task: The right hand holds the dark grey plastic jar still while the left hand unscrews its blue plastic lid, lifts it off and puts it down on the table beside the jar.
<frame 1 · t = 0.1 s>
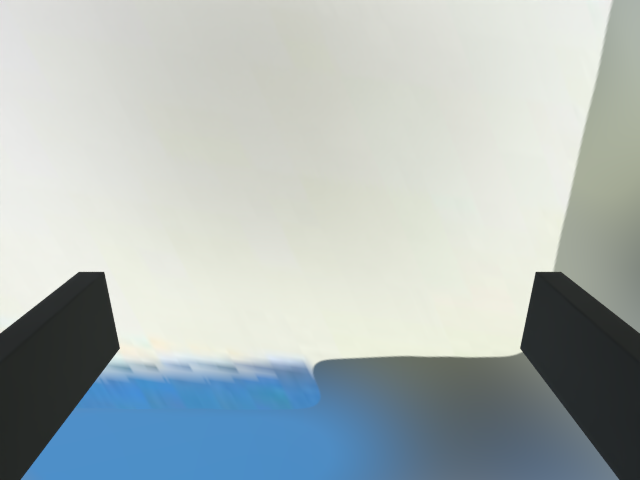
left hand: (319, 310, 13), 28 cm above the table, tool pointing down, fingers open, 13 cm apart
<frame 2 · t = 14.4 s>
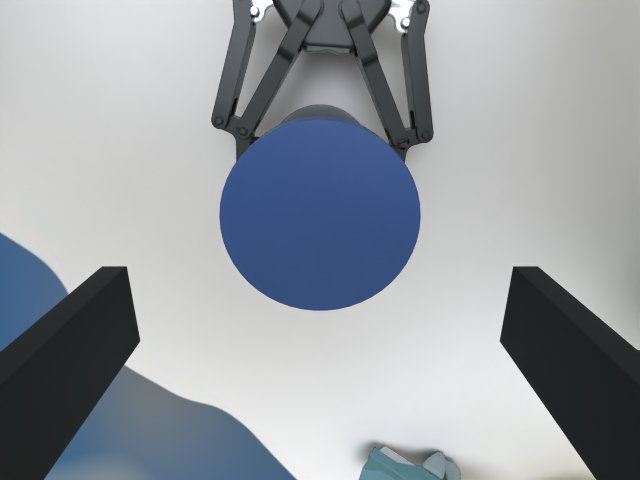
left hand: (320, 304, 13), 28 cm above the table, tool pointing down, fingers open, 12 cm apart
right hand: (316, 220, 35), fingers closed on jar, 10 cm apart
jar: (320, 157, 40), on the table, touching right hand
toy gun: (423, 456, 53), on the table
lid: (320, 221, 21), point 20 cm above the table, screwed on, not yet turned
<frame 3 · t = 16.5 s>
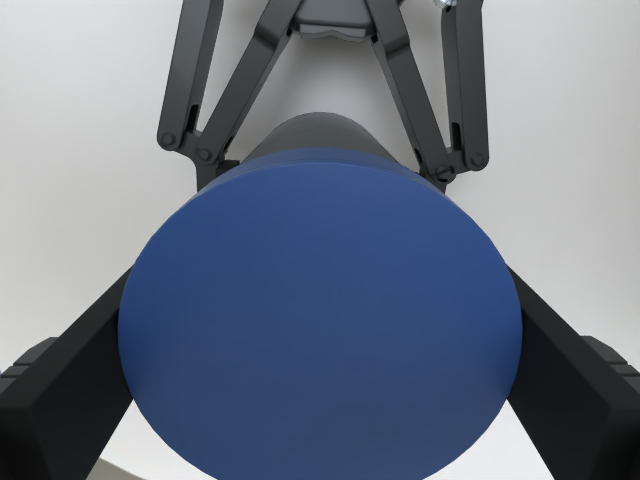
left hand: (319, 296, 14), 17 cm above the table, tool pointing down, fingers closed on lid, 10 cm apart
jar: (319, 182, 29), on the table, touching right hand
lid: (320, 353, 11), point 20 cm above the table, screwed on, not yet turned, touching left hand
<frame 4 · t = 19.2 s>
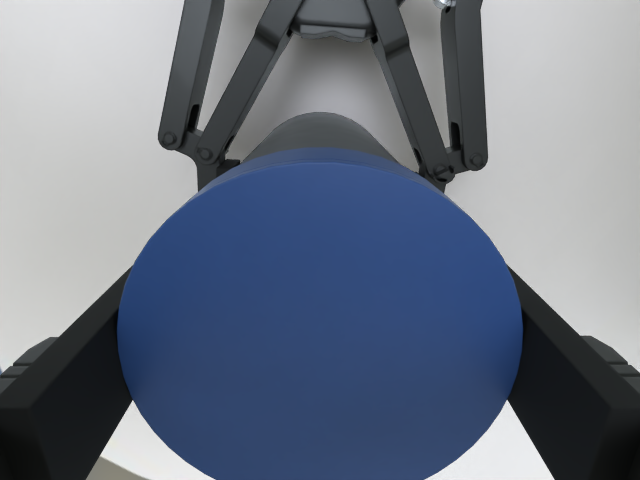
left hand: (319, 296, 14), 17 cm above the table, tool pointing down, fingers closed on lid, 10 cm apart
jar: (319, 182, 29), on the table, touching right hand
lid: (319, 354, 11), point 20 cm above the table, turned 68° so far, risen 0.2 cm, still on its thread, touching left hand
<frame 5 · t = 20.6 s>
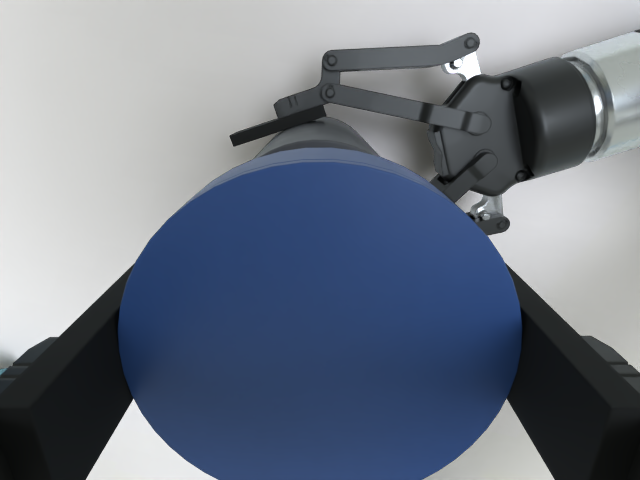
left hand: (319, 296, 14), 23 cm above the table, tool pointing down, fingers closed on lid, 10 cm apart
right hand: (261, 207, 30), fingers closed on jar, 10 cm apart
jar: (317, 173, 36), on the table, touching right hand
lid: (320, 353, 11), point 27 cm above the table, off its thread, touching left hand
when the left hand's fingers open (0 cm above the table, at t = 25.6 s): lid drops 2 cm, point 2 cm above the table.
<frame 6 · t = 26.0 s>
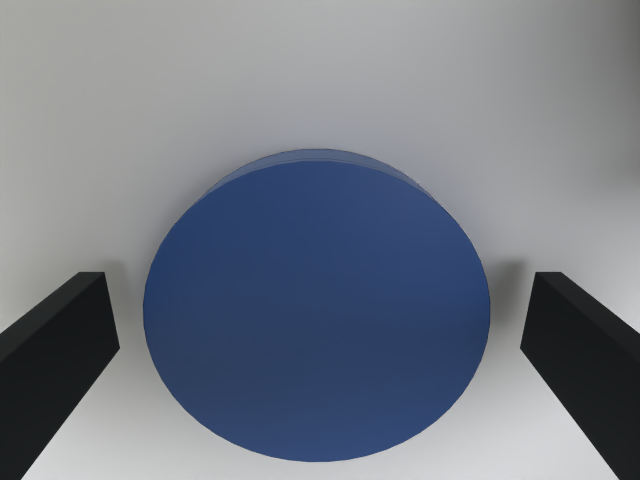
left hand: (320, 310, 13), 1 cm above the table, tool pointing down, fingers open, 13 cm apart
lid: (316, 327, 12), point 2 cm above the table, off its thread
when the right hand's fingers open (6 cm above the table, at t = 26.7 s): jar stays where it is, on the table.
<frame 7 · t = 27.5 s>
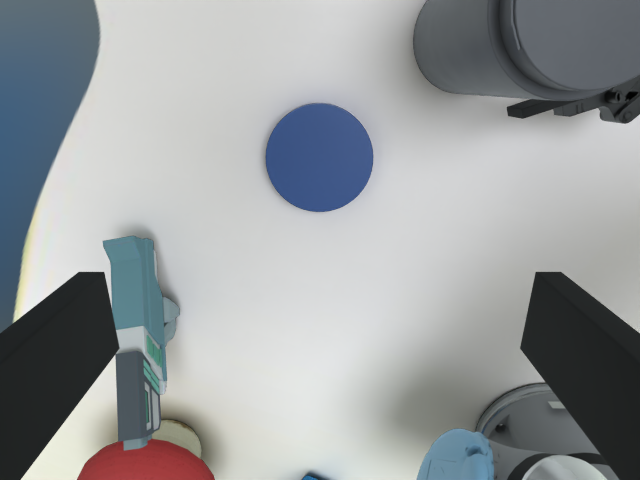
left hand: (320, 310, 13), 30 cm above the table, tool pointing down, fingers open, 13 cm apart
mushroom: (171, 439, 54), on the table
jar: (466, 37, 37), on the table
toy gun: (162, 296, 46), on the table
lid: (319, 159, 39), point 2 cm above the table, off its thread
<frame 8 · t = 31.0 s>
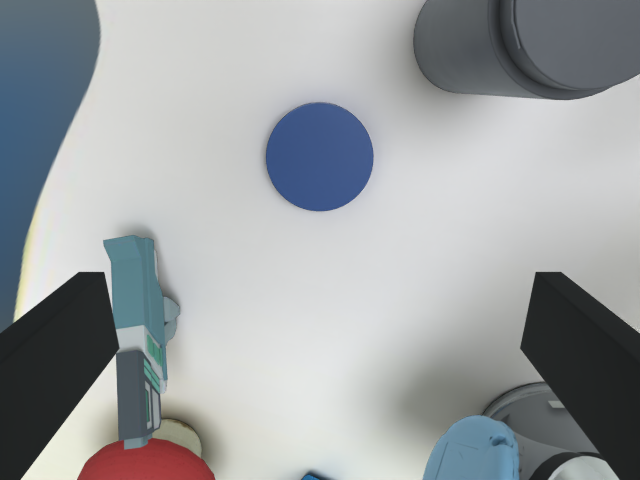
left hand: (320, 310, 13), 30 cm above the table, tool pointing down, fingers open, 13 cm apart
mushroom: (172, 439, 54), on the table
jar: (466, 36, 37), on the table
toy gun: (163, 296, 46), on the table
lid: (319, 159, 39), point 2 cm above the table, off its thread
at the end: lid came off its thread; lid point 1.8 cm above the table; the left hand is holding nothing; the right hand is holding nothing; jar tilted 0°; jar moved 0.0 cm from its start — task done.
